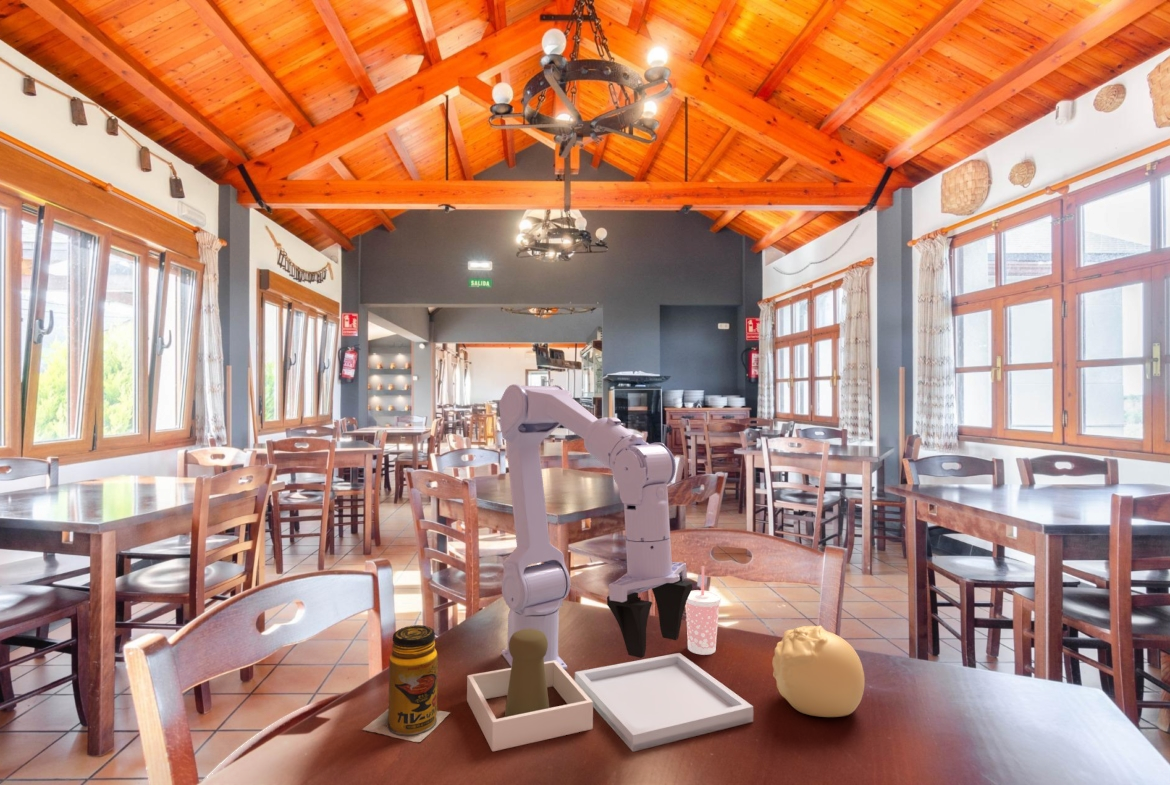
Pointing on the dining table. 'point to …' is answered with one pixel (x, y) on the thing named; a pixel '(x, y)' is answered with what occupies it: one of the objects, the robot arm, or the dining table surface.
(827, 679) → the sculpture
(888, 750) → the dining table surface
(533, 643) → the cork
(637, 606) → the robot arm
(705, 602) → the beverage cup
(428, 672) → the condiment
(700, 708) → the light grey tray
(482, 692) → the cream bin
